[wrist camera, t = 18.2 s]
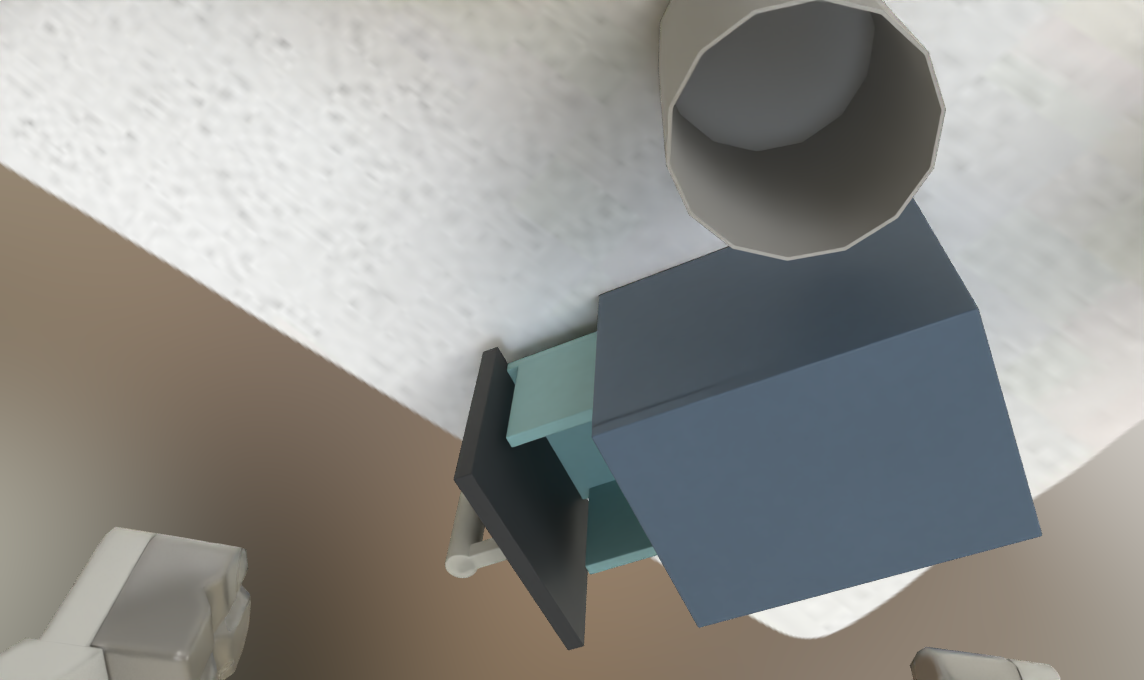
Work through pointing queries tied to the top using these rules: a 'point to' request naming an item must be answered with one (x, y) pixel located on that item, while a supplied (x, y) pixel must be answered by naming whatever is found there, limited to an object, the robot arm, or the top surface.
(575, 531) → the drawer with handle
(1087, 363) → the top surface
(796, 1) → the cup
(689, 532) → the blue cabinet
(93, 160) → the top surface
